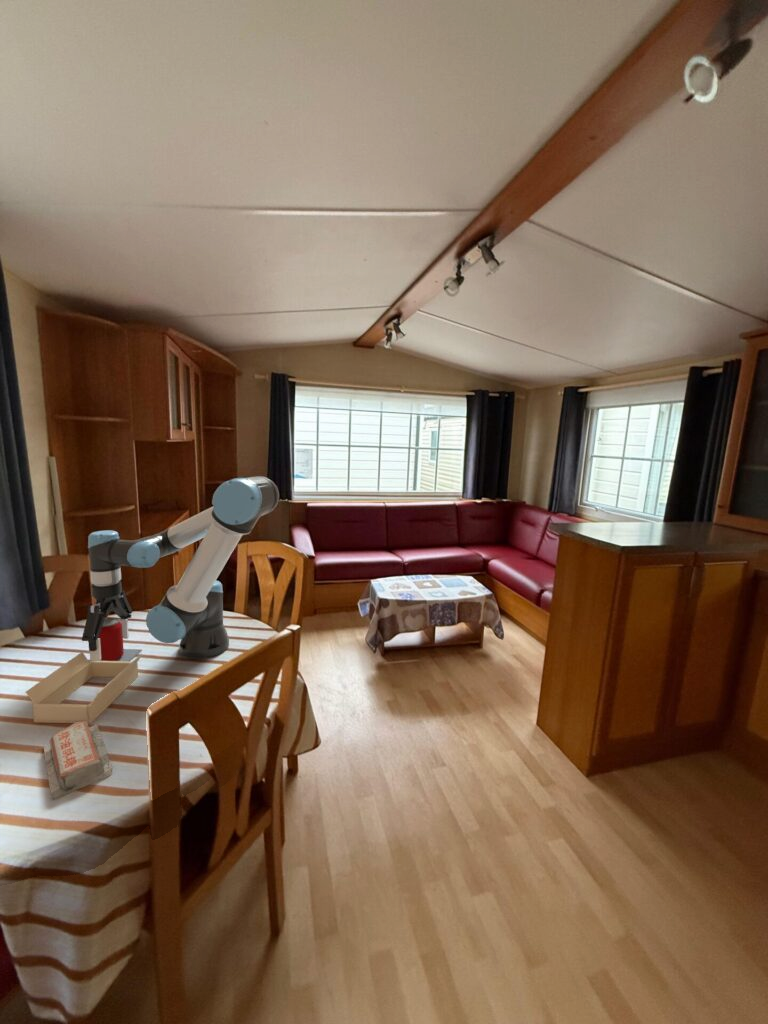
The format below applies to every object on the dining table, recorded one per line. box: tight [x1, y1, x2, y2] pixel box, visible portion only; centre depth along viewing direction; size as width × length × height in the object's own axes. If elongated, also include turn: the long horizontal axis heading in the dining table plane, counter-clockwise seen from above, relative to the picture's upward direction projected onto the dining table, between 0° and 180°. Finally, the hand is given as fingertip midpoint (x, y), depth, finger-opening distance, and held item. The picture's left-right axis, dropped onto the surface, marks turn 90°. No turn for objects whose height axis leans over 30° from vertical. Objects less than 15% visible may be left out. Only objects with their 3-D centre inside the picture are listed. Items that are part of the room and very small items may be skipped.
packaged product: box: [43, 721, 114, 801], centre depth 86 cm, size 18×5×10 cm
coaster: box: [88, 648, 143, 662], centre depth 126 cm, size 12×12×1 cm
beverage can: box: [98, 617, 125, 661], centre depth 125 cm, size 7×7×12 cm
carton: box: [25, 651, 143, 724], centre depth 107 cm, size 17×21×8 cm
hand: (110, 648), depth 126 cm, fingers open, 13 cm apart
